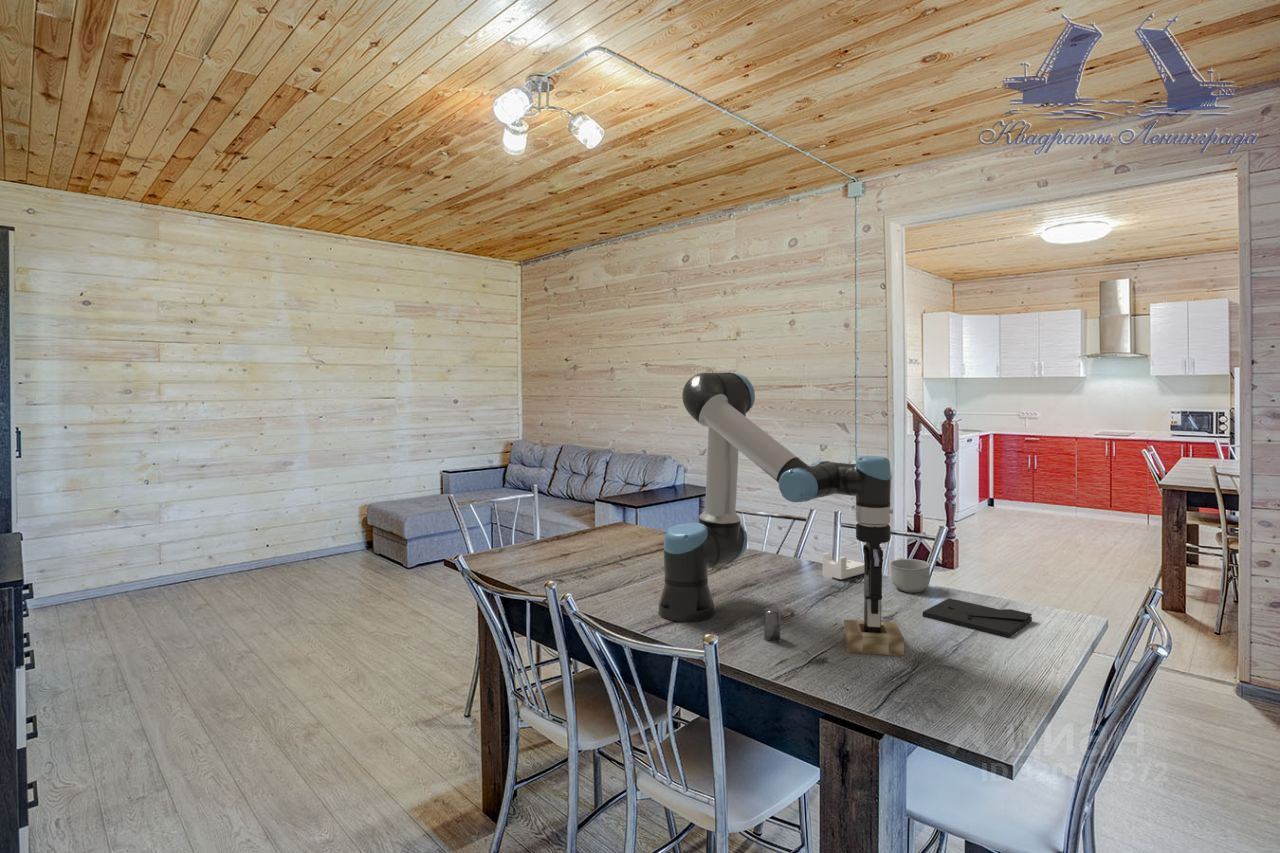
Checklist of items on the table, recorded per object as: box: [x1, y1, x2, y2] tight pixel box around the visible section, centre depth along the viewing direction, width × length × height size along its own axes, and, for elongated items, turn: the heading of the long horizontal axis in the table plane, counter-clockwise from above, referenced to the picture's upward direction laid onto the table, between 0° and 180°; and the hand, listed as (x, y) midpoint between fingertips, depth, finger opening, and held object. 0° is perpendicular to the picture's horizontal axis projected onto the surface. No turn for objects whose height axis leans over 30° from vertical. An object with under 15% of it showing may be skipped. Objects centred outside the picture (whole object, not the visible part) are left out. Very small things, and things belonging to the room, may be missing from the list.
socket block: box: [843, 619, 905, 656], centre depth 154 cm, size 12×10×4 cm
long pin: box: [863, 574, 882, 633], centre depth 153 cm, size 4×4×15 cm
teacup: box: [889, 557, 931, 594], centre depth 196 cm, size 14×11×8 cm
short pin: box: [763, 607, 781, 642], centre depth 159 cm, size 4×4×7 cm
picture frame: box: [922, 597, 1033, 639], centre depth 170 cm, size 16×3×21 cm
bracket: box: [822, 552, 864, 580], centre depth 210 cm, size 13×7×8 cm, turn 125°
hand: (872, 622), depth 154 cm, fingers closed on long pin, 4 cm apart
